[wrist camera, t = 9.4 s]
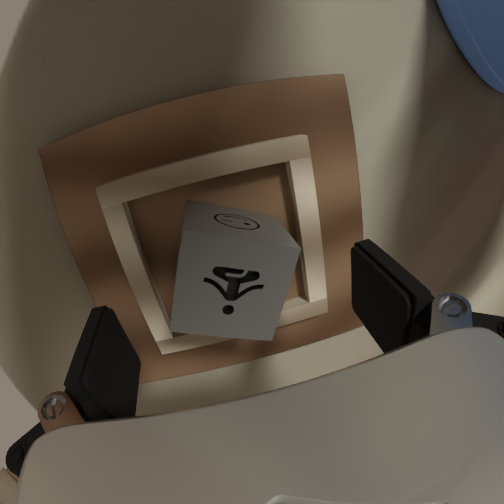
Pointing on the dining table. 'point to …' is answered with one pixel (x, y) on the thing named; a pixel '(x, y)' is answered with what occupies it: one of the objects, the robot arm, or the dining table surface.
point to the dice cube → (231, 272)
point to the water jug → (478, 35)
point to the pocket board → (217, 193)
